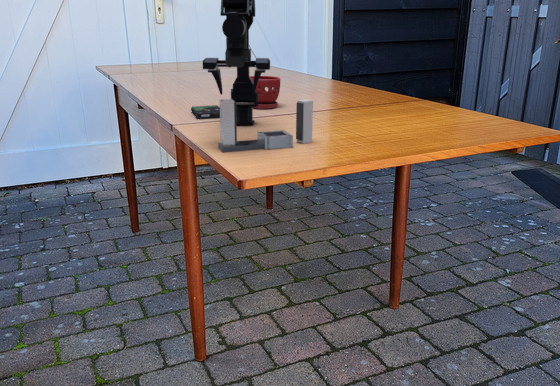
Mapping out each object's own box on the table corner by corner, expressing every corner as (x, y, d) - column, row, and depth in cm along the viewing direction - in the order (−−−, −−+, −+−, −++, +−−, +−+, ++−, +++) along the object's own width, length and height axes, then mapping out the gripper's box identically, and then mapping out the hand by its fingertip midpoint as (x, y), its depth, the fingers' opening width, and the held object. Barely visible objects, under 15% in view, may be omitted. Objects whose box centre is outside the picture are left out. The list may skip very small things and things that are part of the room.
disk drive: (226, 119, 195) (217, 111, 208) (225, 112, 194) (216, 104, 207) (197, 121, 192) (190, 113, 205) (197, 113, 191) (190, 105, 204)
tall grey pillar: (295, 142, 161) (295, 100, 157) (305, 140, 164) (306, 99, 160) (301, 144, 159) (302, 102, 155) (311, 142, 161) (313, 100, 157)
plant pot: (276, 110, 208) (276, 79, 204) (243, 109, 211) (243, 78, 207) (283, 105, 220) (283, 75, 216) (252, 103, 223) (251, 74, 219)
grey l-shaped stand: (217, 146, 155) (215, 98, 151) (284, 141, 162) (284, 94, 157) (223, 153, 149) (222, 102, 144) (292, 147, 155) (293, 99, 151)
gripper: (198, 38, 142) (201, 98, 146) (269, 39, 142) (269, 98, 146) (204, 37, 152) (206, 93, 157) (270, 37, 152) (270, 93, 157)
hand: (237, 94), depth 154 cm, fingers open, 9 cm apart
